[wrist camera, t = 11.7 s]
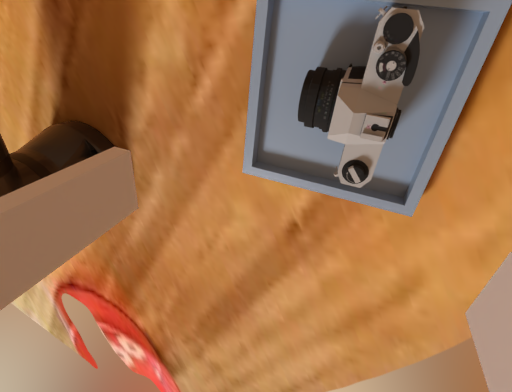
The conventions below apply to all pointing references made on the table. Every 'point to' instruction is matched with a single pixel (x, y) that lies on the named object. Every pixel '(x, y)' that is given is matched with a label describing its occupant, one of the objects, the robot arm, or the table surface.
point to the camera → (365, 95)
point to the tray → (357, 52)
